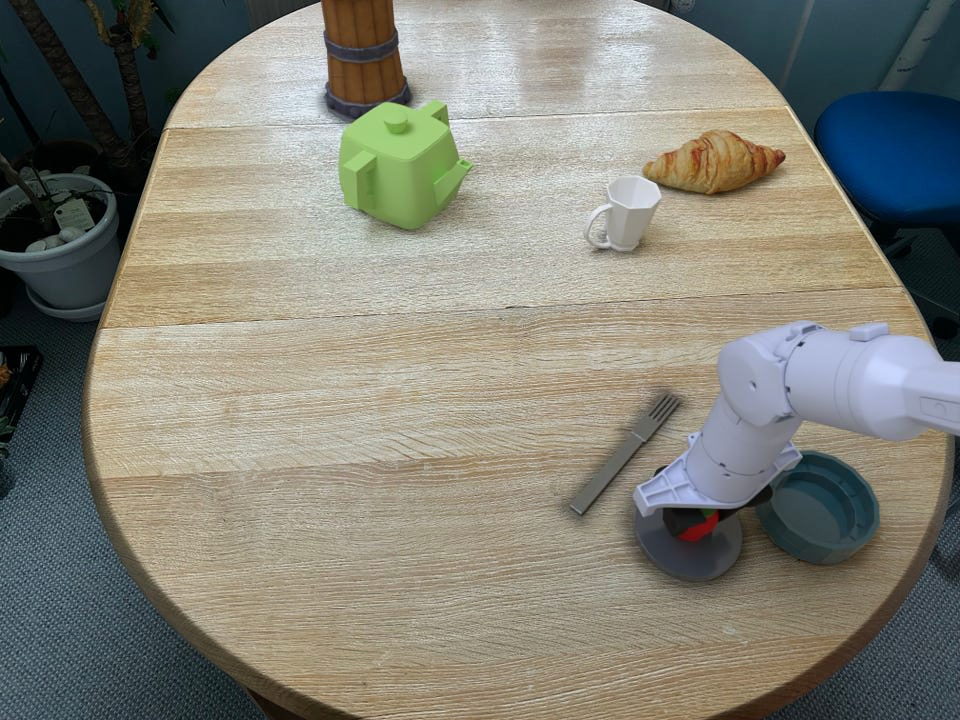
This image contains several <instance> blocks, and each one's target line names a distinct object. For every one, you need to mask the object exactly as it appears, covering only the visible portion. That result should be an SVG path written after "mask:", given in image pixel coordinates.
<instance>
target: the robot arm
mask: <svg viewBox="0 0 960 720" xmlns="http://www.w3.org/2000/svg"><path fill="white" fill-rule="evenodd" d="M716 371H717V372H716V373H717V379H718V384H719V386H720V387H719V388H720V391H719V393H718V395H717V397H716V399H715V401H714V403H713V405H712V407H711V409H710V411H709V413H708V415H707V417H706V419H705V421H704V422H703V425H702V427H701V429H700V430H698V431H694V432H691V433H689V434H688V435H687V437H686V440H685V442H686V444H687V446H688V449H686V451H684V452H683V453H682V454H681V455H679V456H678V457H677V458H676V459H675V460H673V461H672V462H671V463H670V464H667V465H663V466H660V467H658V468H656V470H655V472H654V474H653V475H652V477H651V479H649V480H647V481H646V482H643V483H640V484H638V485H636V487H635V489H634V491H633V494H632V497H631V498H632V499H633V501H634V503H635V505H636V506H637V507H638V509H639V510H640V512H641V514H642V516H643V517H646V516H649V515H652V514H653V513H654V511H655V510H656V509H657V508H662V507H663V521H664V523H665V525H666V527H667V529H668V530H669V532H670V534H671V536H672V537H676V536H679V535H682V534H684V533H685V532H686V531H687V530H688V529H689V528H691V527H694V526H697V525H700V524H703V523H706V522H708V521H707V519H706V518H705V516H704V514H703V512H702V511H701V509H700V508H711V509H718V512H719V518H718V522H721V521H723V520H725V519H727V518H729V517H730V516H732V515H733V514H735V513H736V514H737V513H739V512H740V511H741V510H743V509H745V508H754V506H757V505H760V504H763V503H766V502H768V501H769V500H770V499H771V498H772V496H773V490H772V488H771V486H770V484H769V483H770V482H771V481H772V480H773V479H774V478H775V477H776V476H777V475H778V474H779V473H780V472H782V471H783V470H785V471H787V470H790V469H793V468H795V466H796V465H797V464H798V463H799V461H800V460H801V459H802V457H803V456H802V455H801V454H800V452H799V451H800V450H799V449H798V448H797V446H796V445H795V444H794V442H793V441H792V439H793V437H794V436H795V434H796V433H797V432H798V430H799V428H800V427H801V426H802V424H803V423H804V421H806V422H810V423H815V424H818V425H822V426H827V427H830V428H834V429H839V430H842V431H847V432H851V433H854V434H859V435H863V436H867V437H871V438H875V439H880V440H883V441H889V442H893V443H900V442H907V441H910V440H913V439H915V438H918V437H919V436H920V435H922V434H923V433H925V432H926V431H928V430H930V429H932V430H936V431H939V432H943V433H945V434H949V435H954V436H956V437H960V361H947V360H946V361H945V360H944V359H943V358H942V356H941V354H940V353H939V352H938V350H937V349H936V348H935V347H934V346H933V345H932V344H930V343H929V342H928V341H926V340H925V339H922V338H921V337H918V336H914V335H909V334H908V335H907V334H893V333H890V326H889V324H888V323H887V322H878V321H877V322H876V321H869V322H867V323H863V324H859V325H857V326H853V327H851V328H849V330H848V331H846V330H831V329H829V328H827V327H826V326H824V325H821V324H819V323H817V322H815V321H811V320H808V319H799V320H795V321H792V322H789V323H784V324H782V325H779V326H776V327H775V326H774V327H771V328H769V329H766V330H762V331H759V332H755V333H752V334H749V335H744V336H743V337H738V338H736V339H734V340H733V341H729V342H727V343H726V344H724V345H723V346H722V348H721V349H720V351H719V353H718V356H717V362H716ZM718 522H717V523H718Z"/></svg>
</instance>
